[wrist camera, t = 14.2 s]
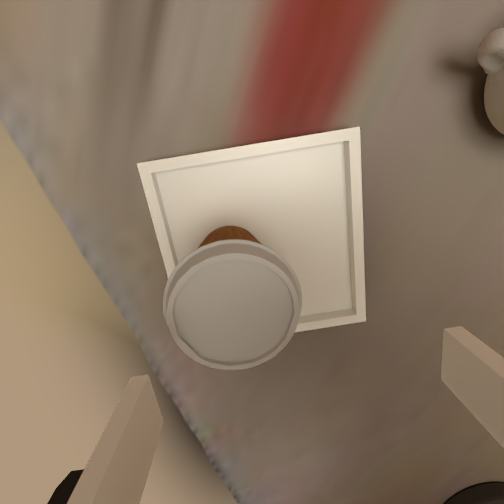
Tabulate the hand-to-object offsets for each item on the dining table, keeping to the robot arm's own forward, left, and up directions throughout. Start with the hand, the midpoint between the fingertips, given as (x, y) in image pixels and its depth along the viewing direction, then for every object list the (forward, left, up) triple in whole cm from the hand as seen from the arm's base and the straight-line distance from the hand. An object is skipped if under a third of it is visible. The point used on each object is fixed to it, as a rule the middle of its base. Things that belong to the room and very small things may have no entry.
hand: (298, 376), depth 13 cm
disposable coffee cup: (0, +4, -18) cm, 18 cm away
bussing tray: (0, 0, -19) cm, 19 cm away
